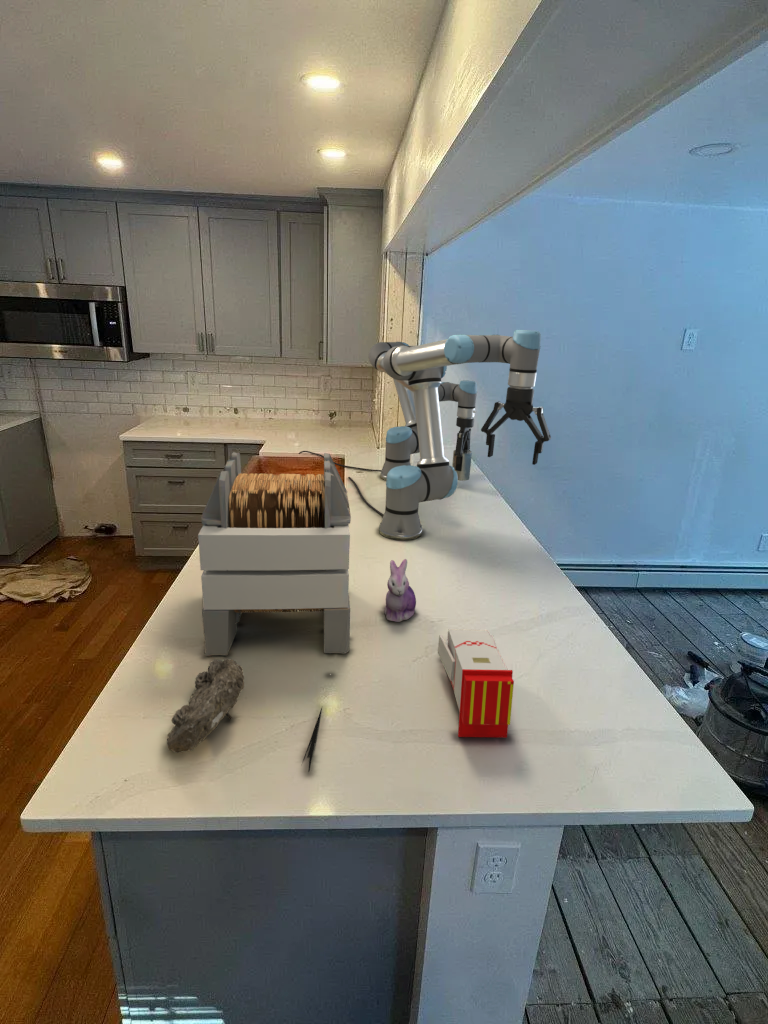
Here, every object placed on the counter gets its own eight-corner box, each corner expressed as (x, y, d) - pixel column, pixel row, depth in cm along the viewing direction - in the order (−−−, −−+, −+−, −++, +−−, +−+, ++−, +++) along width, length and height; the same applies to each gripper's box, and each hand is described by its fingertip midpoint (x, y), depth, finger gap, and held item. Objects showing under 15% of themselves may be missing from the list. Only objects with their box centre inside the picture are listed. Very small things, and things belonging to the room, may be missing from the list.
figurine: (392, 627, 141) (395, 572, 136) (374, 608, 149) (376, 556, 144) (425, 619, 145) (429, 566, 140) (405, 601, 154) (408, 550, 149)
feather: (331, 679, 122) (336, 673, 122) (307, 777, 96) (313, 769, 95) (324, 675, 122) (329, 669, 121) (298, 772, 95) (304, 764, 95)
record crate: (226, 586, 157) (217, 442, 143) (344, 585, 161) (346, 445, 147) (202, 658, 125) (189, 482, 112) (350, 654, 129) (354, 483, 115)
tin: (447, 477, 254) (449, 450, 250) (459, 474, 259) (461, 448, 255) (461, 481, 248) (463, 454, 244) (473, 478, 254) (475, 451, 249)
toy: (488, 613, 130) (523, 677, 101) (484, 667, 133) (517, 744, 104) (435, 612, 130) (455, 676, 101) (432, 666, 133) (451, 743, 103)
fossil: (192, 660, 117) (244, 628, 112) (224, 691, 120) (276, 661, 115) (142, 746, 98) (202, 712, 93) (182, 779, 101) (242, 748, 96)
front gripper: (568, 390, 158) (557, 464, 165) (483, 381, 169) (476, 451, 177) (562, 393, 152) (550, 469, 159) (474, 383, 163) (467, 455, 170)
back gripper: (467, 422, 234) (462, 475, 242) (480, 414, 252) (475, 464, 260) (450, 420, 237) (445, 472, 244) (463, 413, 255) (459, 462, 263)
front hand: (512, 460), depth 168 cm, fingers open, 13 cm apart
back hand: (461, 468), depth 252 cm, fingers closed on tin, 8 cm apart
